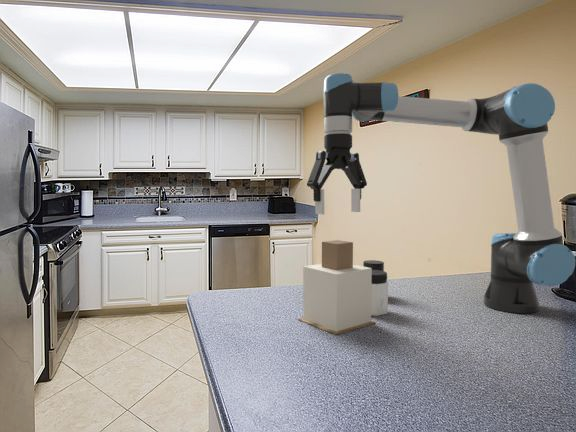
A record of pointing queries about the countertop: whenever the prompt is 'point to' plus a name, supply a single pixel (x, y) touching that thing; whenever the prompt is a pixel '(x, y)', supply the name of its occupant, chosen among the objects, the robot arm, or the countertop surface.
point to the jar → (379, 293)
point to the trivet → (335, 331)
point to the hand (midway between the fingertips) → (338, 213)
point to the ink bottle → (374, 265)
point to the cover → (337, 289)
